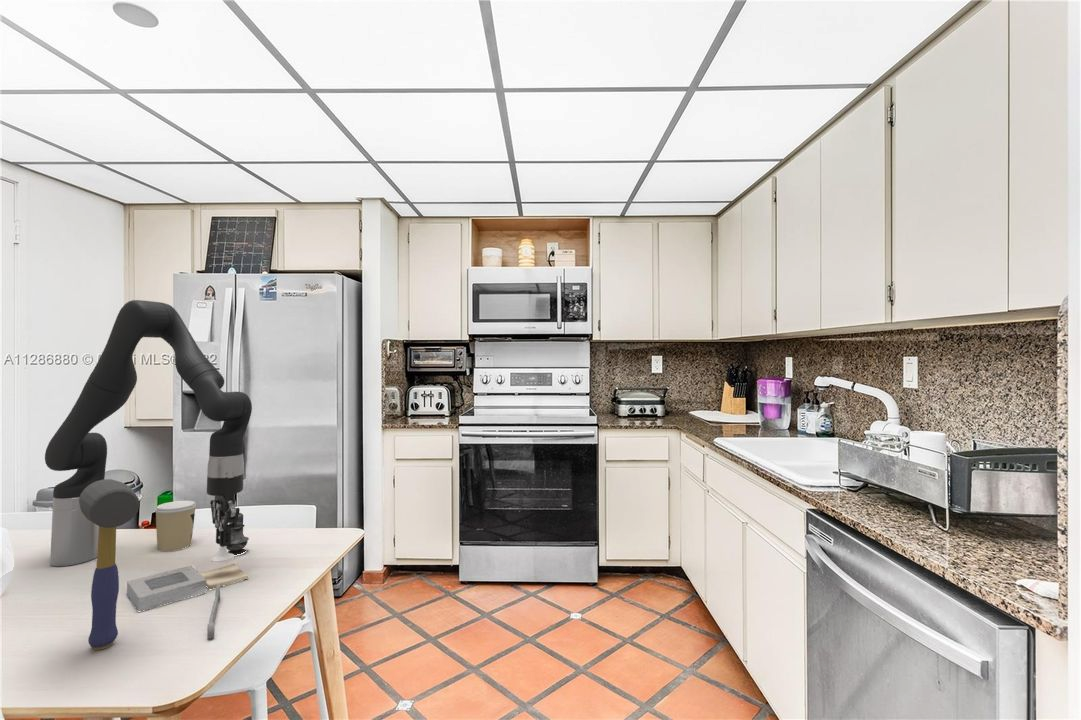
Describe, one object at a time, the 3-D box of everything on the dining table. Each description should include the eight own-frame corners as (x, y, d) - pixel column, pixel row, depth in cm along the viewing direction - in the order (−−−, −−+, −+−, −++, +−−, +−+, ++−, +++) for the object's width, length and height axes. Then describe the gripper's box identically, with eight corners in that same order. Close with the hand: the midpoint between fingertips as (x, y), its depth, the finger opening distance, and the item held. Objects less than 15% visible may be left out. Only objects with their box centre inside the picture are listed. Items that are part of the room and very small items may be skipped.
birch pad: (196, 577, 118) (196, 573, 118) (233, 568, 124) (233, 564, 124) (209, 590, 111) (209, 585, 111) (248, 579, 117) (248, 575, 117)
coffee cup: (200, 545, 139) (202, 503, 140) (161, 555, 132) (163, 510, 132) (186, 538, 144) (187, 498, 145) (148, 548, 137) (149, 505, 137)
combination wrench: (214, 624, 91) (224, 580, 109) (206, 625, 91) (217, 581, 108) (213, 643, 91) (223, 597, 109) (205, 645, 91) (216, 598, 108)
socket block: (126, 594, 108) (127, 581, 109) (190, 577, 118) (191, 565, 118) (138, 612, 101) (139, 597, 101) (205, 593, 110) (206, 579, 110)
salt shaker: (236, 558, 131) (238, 513, 131) (218, 556, 132) (219, 511, 132) (253, 550, 136) (254, 507, 137) (235, 548, 137) (237, 506, 138)
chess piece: (208, 565, 114) (210, 522, 115) (212, 558, 119) (213, 517, 119) (233, 562, 117) (234, 520, 117) (235, 555, 121) (236, 514, 121)
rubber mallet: (69, 642, 89) (76, 480, 90) (122, 626, 95) (128, 474, 96) (80, 669, 81) (88, 491, 82) (137, 650, 87) (143, 483, 88)
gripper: (199, 471, 120) (196, 541, 119) (217, 480, 111) (214, 556, 110) (233, 467, 126) (230, 534, 125) (253, 475, 117) (250, 547, 116)
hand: (223, 544), depth 118 cm, fingers closed on chess piece
